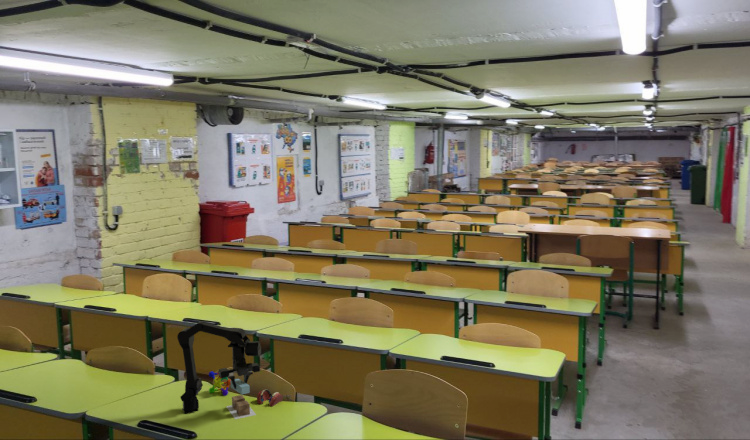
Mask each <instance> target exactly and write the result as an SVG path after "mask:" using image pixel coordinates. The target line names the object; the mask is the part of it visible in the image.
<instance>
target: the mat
mask: <svg viewBox="0 0 750 440" xmlns="http://www.w3.org/2000/svg"><path fill="white" fill-rule="evenodd" d="M225 407H226V409H227V410H228V411H229V413H230V415H231V416H232V417H233V419H234V420H239V419H243V418H249V417H253V416H257V414H256V412H255V411H254V410H253V409H252V407H250V414H249V415H244V416H240V417H239V415H238V414H237V412H236V410H234V409H233V407H232V404H230V405H227V406H225Z"/></svg>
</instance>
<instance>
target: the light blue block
mask: <svg viewBox="0 0 750 440" xmlns="http://www.w3.org/2000/svg"><path fill="white" fill-rule="evenodd" d="M230 382H231V380H230ZM235 385H236V389H234V386H233V384H232V382H231V385H230V388H231V389H232V390H234V391H236V392H237V393H239V394H240V395H243V396H244V394H249V393H250V392H251V388H250V384H248V382H247V383H245V382H244V380H242V379H240V378H235Z"/></svg>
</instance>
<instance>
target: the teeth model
mask: <svg viewBox="0 0 750 440" xmlns="http://www.w3.org/2000/svg"><path fill="white" fill-rule="evenodd" d="M283 399H284V398H283V395H282V394H280V392H277V391H276V392H274V393H273V394H272V393H271V391H270V390H269V389H264V390H260V391H259V392H258V393H257V395H256V401H257V404H258V405H261V404H263V403H264V402H265V401H268V404H269V407H274V406H275V405H277V404H279V403H280V402H283Z"/></svg>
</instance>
